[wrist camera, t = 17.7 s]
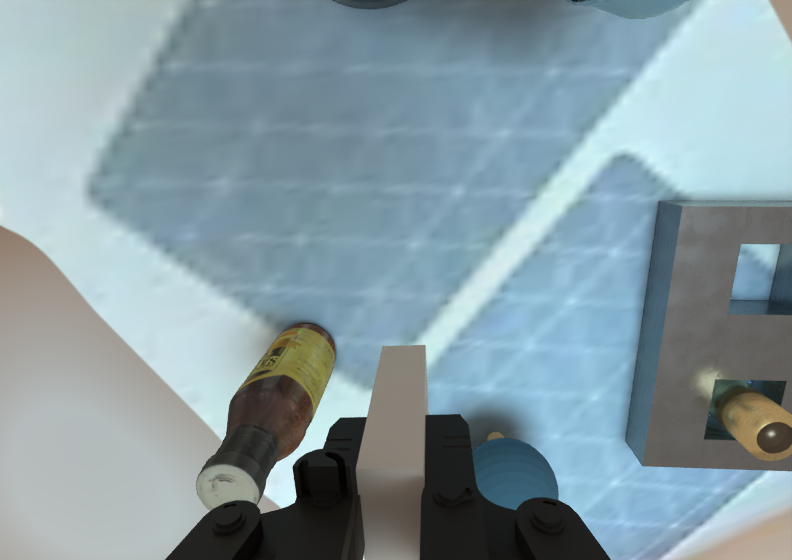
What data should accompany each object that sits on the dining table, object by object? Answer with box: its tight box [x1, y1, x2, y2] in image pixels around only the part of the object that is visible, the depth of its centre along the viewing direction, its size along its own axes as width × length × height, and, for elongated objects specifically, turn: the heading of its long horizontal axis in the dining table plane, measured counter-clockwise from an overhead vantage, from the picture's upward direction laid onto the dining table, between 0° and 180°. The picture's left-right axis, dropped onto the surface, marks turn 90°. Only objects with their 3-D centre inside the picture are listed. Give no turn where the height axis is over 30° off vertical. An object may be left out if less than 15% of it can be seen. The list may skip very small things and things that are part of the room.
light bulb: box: [472, 432, 558, 510], centre depth 44 cm, size 8×8×12 cm
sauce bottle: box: [196, 324, 336, 511], centre depth 39 cm, size 7×6×20 cm
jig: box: [625, 201, 792, 471], centre depth 43 cm, size 24×16×4 cm, turn 0°
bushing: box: [709, 379, 792, 461], centre depth 43 cm, size 4×4×8 cm
